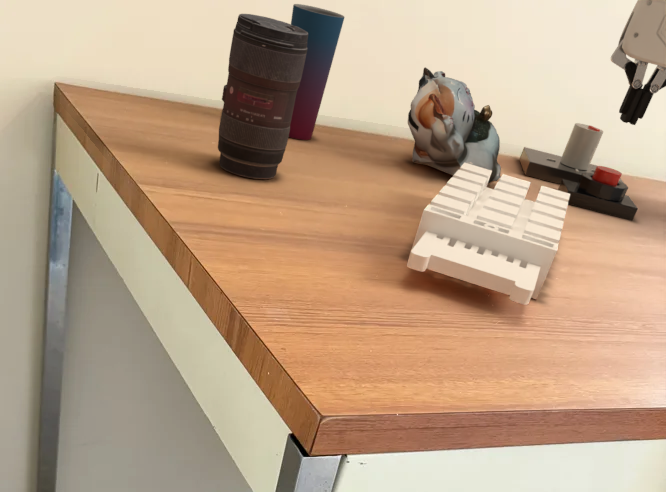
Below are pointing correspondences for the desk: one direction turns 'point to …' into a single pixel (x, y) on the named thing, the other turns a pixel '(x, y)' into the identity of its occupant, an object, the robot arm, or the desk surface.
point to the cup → (313, 65)
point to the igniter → (599, 196)
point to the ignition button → (607, 175)
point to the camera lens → (260, 95)
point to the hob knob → (581, 146)
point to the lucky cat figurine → (451, 127)
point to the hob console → (550, 167)
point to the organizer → (491, 233)
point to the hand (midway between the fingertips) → (627, 121)
